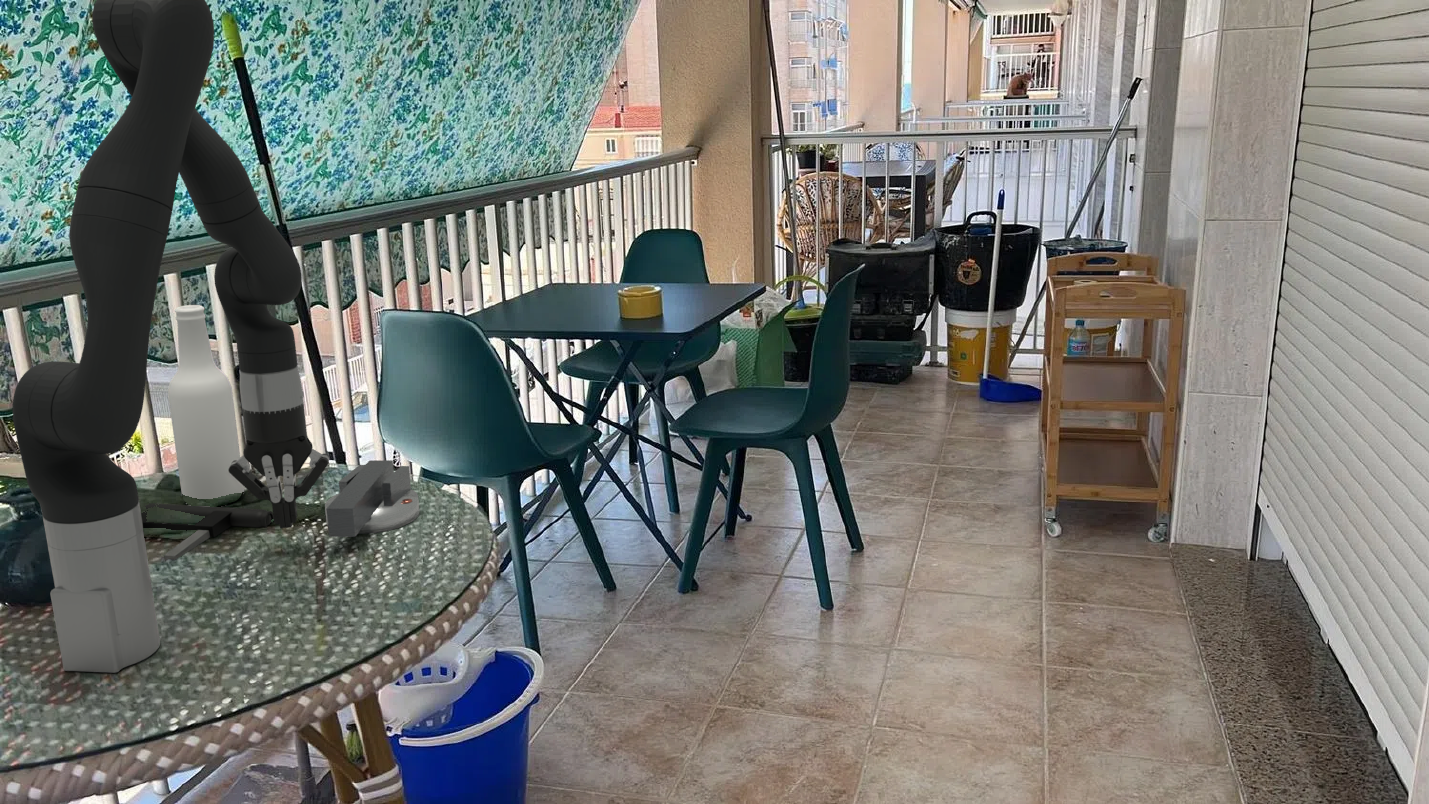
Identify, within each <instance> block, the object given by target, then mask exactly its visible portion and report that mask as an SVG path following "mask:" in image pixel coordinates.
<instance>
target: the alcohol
mask: <svg viewBox="0 0 1429 804" xmlns="http://www.w3.org/2000/svg"><path fill="white" fill-rule="evenodd" d="M204 311H205V307H204V306H202V304H201V305H199V304H190V305H189V304H188V305H181V306H177V307H176V308H175V309H174V312H175V314H176V316H175V320H176V322H177V345H178V368H177V371H175V374H174V375H173V376H172V378H171V380H170V382H169V383H168V390H167V391H168V392H167V397H168V404H169V411H170V418H171V427H172V433H173V434H172V435H173V439H174V440H173V441H174V447H175V448H174V449H175V453H176V455H175V456H176V462H177V468H178V476H179V477H178V478H179V483H180V489H181V495H182V494H183V495H185V496H189V497H192V498H197V499H213V498H218V497H221V496H226V495H229V494H234V493H242V492H244V493H245V487H244V486H243V485H242V484H241V483H240V482H239V481H238V480H237V479H236V478H235V477H233V476H232V475H231V474H230V473H229V467H230V465H231V463H232V462H233V461H234V460H238V459H239V458H240V457H241V451H240V443H239V434H238V427H237V426H238V425H237V419H236V418H237V417H236V410H235V402H234V401H235V400H234V394H233V386H232V385H231V382H230V379H229V377H228V376H227V375H226V374H225V373H224V371H222V370H221V369H220V368H219V367H217V364H216V363H215V361H214V357H213V353H212V347H211V343H210V342H211V341H210V339H209V338H210V337H209V332H208V328H207V324H206V323H207V322H206V314H205V312H204Z"/></svg>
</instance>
